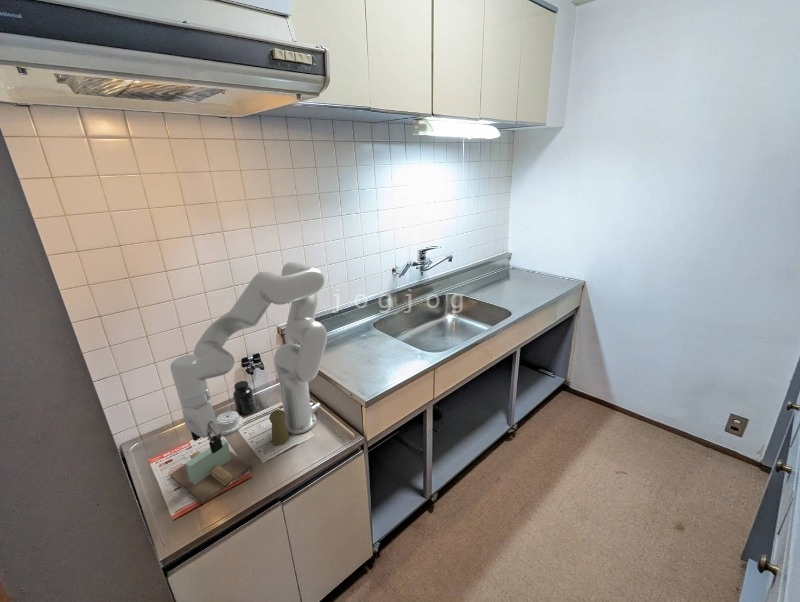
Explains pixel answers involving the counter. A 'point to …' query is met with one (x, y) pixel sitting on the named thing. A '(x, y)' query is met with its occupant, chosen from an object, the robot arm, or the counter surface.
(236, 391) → the supplement bottle
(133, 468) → the counter surface
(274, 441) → the cork
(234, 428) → the mechanical component
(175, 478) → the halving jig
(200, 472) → the sage plate
